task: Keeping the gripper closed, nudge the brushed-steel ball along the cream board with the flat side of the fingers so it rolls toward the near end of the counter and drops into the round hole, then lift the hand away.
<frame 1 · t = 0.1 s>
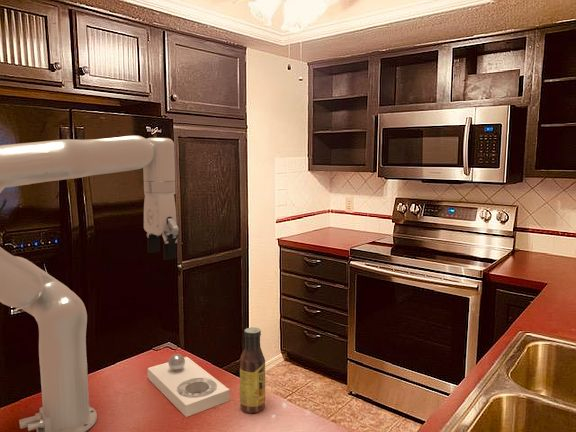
hand: (161, 255, 115), 37 cm above the worktop, tool pointing down, fingers open, 9 cm apart
sauce bottle: (252, 407, 113), on the worktop
ball: (176, 362, 125), point 5 cm above the worktop, touching deck
deck: (186, 388, 121), on the worktop
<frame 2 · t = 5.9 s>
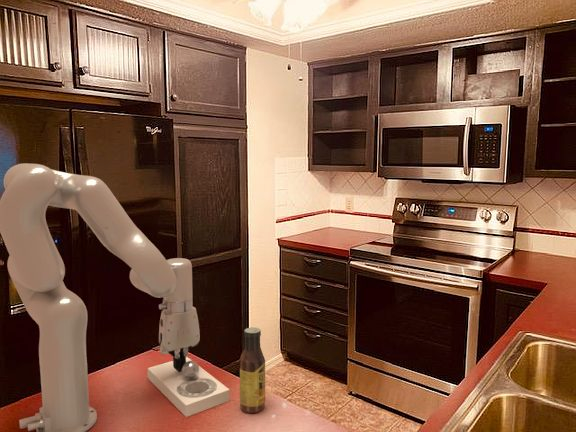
hand: (179, 369, 124), 4 cm above the worktop, tool pointing down, fingers closed
ball: (190, 369, 121), point 5 cm above the worktop, tilted 160°, touching deck
everything else where it was.
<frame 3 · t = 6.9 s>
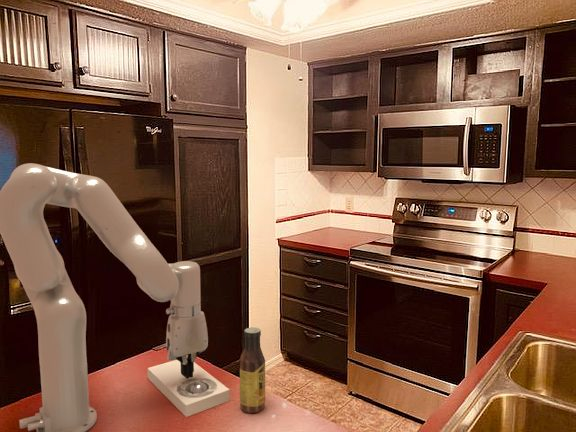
hand: (187, 375, 120), 4 cm above the worktop, tool pointing down, fingers closed
ball: (198, 391, 116), point 2 cm above the worktop, tilted 57°
everything else where it was.
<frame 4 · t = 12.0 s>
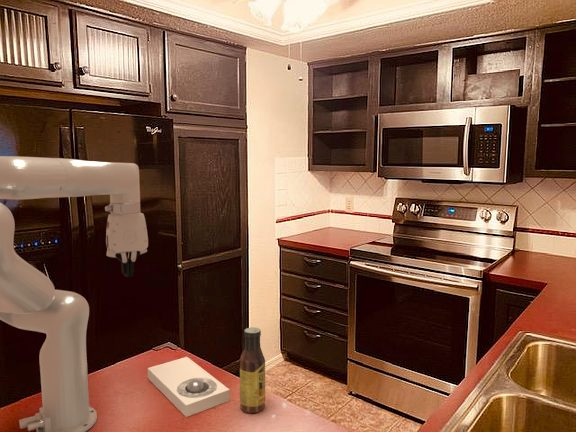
hand: (128, 275, 124), 29 cm above the worktop, tool pointing down, fingers closed
ball: (195, 389, 117), point 2 cm above the worktop, tilted 76°
everything else where it was.
at the end: ball 0.7 cm from the target spot in the deck, point 2.2 cm above the deck's base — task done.
